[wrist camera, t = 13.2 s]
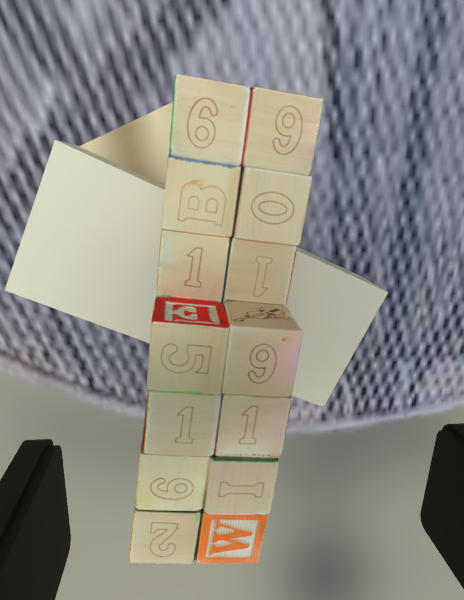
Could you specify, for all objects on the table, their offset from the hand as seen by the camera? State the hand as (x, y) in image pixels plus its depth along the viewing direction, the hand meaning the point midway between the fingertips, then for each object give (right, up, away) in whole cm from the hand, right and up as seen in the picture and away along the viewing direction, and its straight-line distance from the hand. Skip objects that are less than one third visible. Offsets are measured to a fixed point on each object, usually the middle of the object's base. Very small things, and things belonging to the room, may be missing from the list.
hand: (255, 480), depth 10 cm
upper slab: (-3, +6, +23) cm, 24 cm away
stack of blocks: (-2, +6, +18) cm, 19 cm away
